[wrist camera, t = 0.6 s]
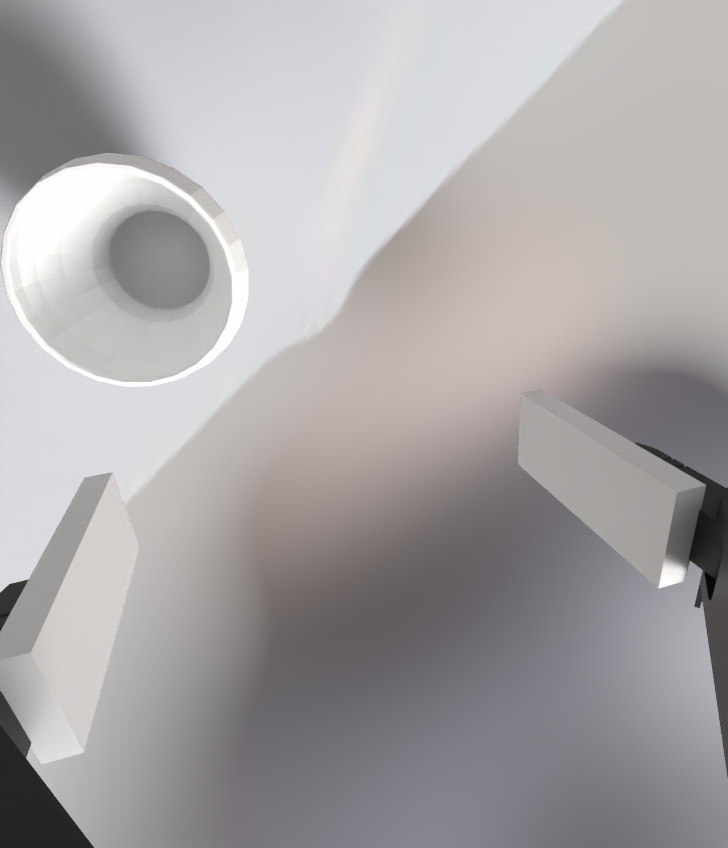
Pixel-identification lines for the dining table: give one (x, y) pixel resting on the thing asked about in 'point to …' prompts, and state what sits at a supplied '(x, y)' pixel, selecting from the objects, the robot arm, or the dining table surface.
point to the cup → (124, 270)
